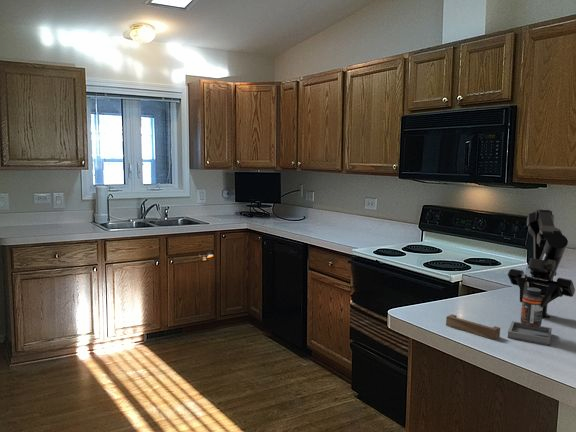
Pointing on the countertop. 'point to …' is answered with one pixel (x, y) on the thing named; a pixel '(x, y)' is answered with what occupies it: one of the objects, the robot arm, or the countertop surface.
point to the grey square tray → (530, 333)
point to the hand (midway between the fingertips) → (530, 304)
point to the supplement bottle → (532, 308)
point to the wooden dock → (473, 327)
